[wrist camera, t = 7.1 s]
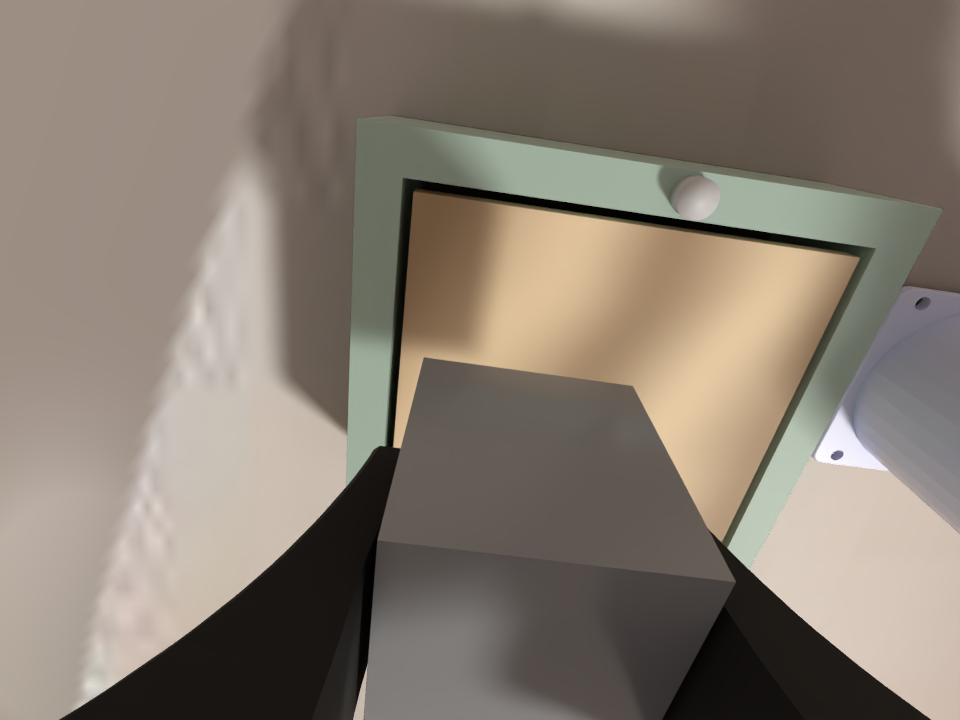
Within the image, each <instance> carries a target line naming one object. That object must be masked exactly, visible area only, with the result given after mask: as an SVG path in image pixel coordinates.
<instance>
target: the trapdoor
mask: <svg viewBox="0 0 960 720" xmlns="http://www.w3.org/2000/svg"><path fill="white" fill-rule="evenodd" d="M859 259H860V258H859V257H857V256H854V255H852V254H849V253H847V252H842V251H835V250H828V249H821V248H815V247H808V246H801V245H795V244H788V243H781V242H774V241H768V240H761V239H754V238H747V237H741V236H734V235H727V234H721V233H714V232H707V231H700V230H694V229H687V228H680V227H673V226H667V225H660V224H653V223H646V222H640V221H633V220H626V219H620V218H613V217H606V216H599V215H593V214H586V213H579V212H572V211H566V210H559V209H552V208H546V207H539V206H532V205H525V204H519V203H512V202H505V201H498V200H492V199H485V198H478V197H472V196H465V195H458V194H451V193H445V192H438V191H431V190H424V189H418V188H416V189H415V190H414V192H413V204H412V217H411V230H410V242H409V255H408V268H407V280H406V293H405V306H404V318H403V331H402V344H401V357H400V369H399V382H398V395H397V407H396V420H395V433H394V446H393V447H394V448H401V445H402V441H403V437H404V433H405V429H406V425H407V421H408V417H409V413H410V409H411V405H412V401H413V397H414V394H415V390H416V386H417V382H418V378H419V374H420V370H421V366H422V362H423V358H424V357H426V358H433V359H440V360H448V361H455V362H462V363H470V364H477V365H484V366H491V367H499V368H506V369H513V370H521V371H528V372H535V373H542V374H550V375H557V376H564V377H572V378H579V379H586V380H594V381H601V382H608V383H615V384H623V385H630V386H633V387H634V389H635V391H636V393H637V395H638V397H639V399H640V401H641V402H642V404H643V406H644V408H645V410H646V412H647V414H648V416H649V418H650V420H651V421H652V423H653V425H654V427H655V429H656V431H657V433H658V435H659V437H660V439H661V440H662V442H663V444H664V446H665V448H666V450H667V452H668V454H669V456H670V458H671V459H672V461H673V463H674V465H675V467H676V469H677V471H678V473H679V475H680V477H681V478H682V480H683V482H684V484H685V486H686V488H687V490H688V492H689V494H690V496H691V497H692V499H693V501H694V503H695V505H696V507H697V509H698V511H699V513H700V515H701V516H702V518H703V520H704V522H705V524H706V526H707V528H708V529H709V530H710V531H711V532H712V533H713V534H714V535H715V536H716V537H717V538H718V539H719V540H720V541H721V542H722V541H723V539H724V537H725V535H726V533H727V531H728V529H729V527H730V525H731V523H732V520H733V518H734V516H735V514H736V512H737V510H738V508H739V506H740V504H741V502H742V500H743V498H744V496H745V494H746V492H747V490H748V488H749V486H750V483H751V481H752V479H753V477H754V475H755V473H756V471H757V469H758V467H759V465H760V463H761V461H762V459H763V457H764V455H765V453H766V451H767V449H768V446H769V444H770V442H771V440H772V438H773V436H774V434H775V432H776V430H777V428H778V426H779V424H780V422H781V420H782V418H783V416H784V414H785V412H786V409H787V407H788V405H789V403H790V401H791V399H792V397H793V395H794V393H795V391H796V389H797V387H798V385H799V383H800V381H801V379H802V377H803V375H804V372H805V370H806V368H807V366H808V364H809V362H810V360H811V358H812V356H813V354H814V352H815V350H816V348H817V346H818V344H819V342H820V340H821V338H822V335H823V333H824V331H825V329H826V327H827V325H828V323H829V321H830V319H831V317H832V315H833V313H834V311H835V309H836V307H837V305H838V303H839V301H840V298H841V296H842V294H843V292H844V290H845V288H846V286H847V284H848V282H849V280H850V278H851V276H852V274H853V272H854V270H855V268H856V266H857V264H858V261H859Z"/></svg>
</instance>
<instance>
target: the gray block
mask: <svg viewBox="0 0 960 720" xmlns="http://www.w3.org/2000/svg"><path fill="white" fill-rule="evenodd" d="M735 583H736V581H735V579H734V577H733V575H732V573H731V572H730V570H729V568H728V566H727V564H726V562H725V560H724V558H723V556H722V554H721V553H720V551H719V549H718V547H717V545H716V543H715V541H714V539H713V537H712V535H711V534H710V532H709V530H708V528H707V526H706V524H705V522H704V520H703V518H702V516H701V515H700V513H699V511H698V509H697V507H696V505H695V503H694V501H693V499H692V497H691V496H690V494H689V492H688V490H687V488H686V486H685V484H684V482H683V480H682V478H681V477H680V475H679V473H678V471H677V469H676V467H675V465H674V463H673V461H672V459H671V458H670V456H669V454H668V452H667V450H666V448H665V446H664V444H663V442H662V440H661V439H660V437H659V435H658V433H657V431H656V429H655V427H654V425H653V423H652V421H651V420H650V418H649V416H648V414H647V412H646V410H645V408H644V406H643V404H642V402H641V401H640V399H639V397H638V395H637V393H636V391H635V389H634V387H633V386H630V385H623V384H615V383H608V382H601V381H594V380H586V379H579V378H572V377H564V376H557V375H550V374H542V373H535V372H528V371H521V370H513V369H506V368H499V367H491V366H484V365H477V364H470V363H462V362H455V361H448V360H440V359H433V358H426V357H424V358H423V362H422V366H421V370H420V374H419V378H418V382H417V386H416V390H415V394H414V397H413V401H412V405H411V409H410V413H409V417H408V421H407V425H406V429H405V433H404V437H403V441H402V445H401V449H400V453H399V457H398V461H397V465H396V469H395V473H394V477H393V480H392V484H391V488H390V492H389V496H388V500H387V504H386V508H385V512H384V516H383V520H382V524H381V528H380V532H379V536H378V540H377V551H376V564H375V577H374V590H373V603H372V616H371V629H370V642H369V655H368V668H367V681H366V694H365V707H364V720H662V719H663V717H664V715H665V713H666V711H667V709H668V707H669V706H670V704H671V702H672V700H673V698H674V696H675V694H676V693H677V691H678V689H679V687H680V685H681V683H682V681H683V680H684V678H685V676H686V674H687V672H688V670H689V668H690V667H691V665H692V663H693V661H694V659H695V657H696V655H697V654H698V652H699V650H700V648H701V646H702V644H703V642H704V641H705V639H706V637H707V635H708V633H709V631H710V629H711V628H712V626H713V624H714V622H715V620H716V618H717V616H718V615H719V613H720V611H721V609H722V607H723V605H724V603H725V602H726V600H727V598H728V596H729V594H730V592H731V590H732V589H733V587H734V585H735Z"/></svg>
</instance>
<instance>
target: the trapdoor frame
mask: <svg viewBox="0 0 960 720" xmlns="http://www.w3.org/2000/svg"><path fill="white" fill-rule="evenodd" d="M423 181H429V182H435V183H442V184H449V185H455V186H462V187H469V188H475V189H482V190H489V191H495V192H502V193H509V194H516V195H522V196H529V197H536V198H542V199H549V200H556V201H562V202H569V203H576V204H582V205H589V206H596V207H602V208H609V209H616V210H623V211H629V212H636V213H643V214H649V215H656V216H663V217H669V218H676V219H683V220H689V221H696V222H703V223H710V224H716V225H723V226H730V227H736V228H743V229H750V230H756V231H763V232H770V233H771V234H770V237H769V239H768V241H774V242H781V243H788V244H795V245H801V246H808V247H815V248H821V249H828V250H835V251H842V252H847V253H849V254H852V255H854V256H857V257H859V258H860V259H859V261H858V264H857V266H856V268H855V270H854V272H853V274H852V276H851V278H850V280H849V282H848V284H847V286H846V288H845V290H844V292H843V294H842V296H841V298H840V301H839V303H838V305H837V307H836V309H835V311H834V313H833V315H832V317H831V319H830V321H829V323H828V325H827V327H826V329H825V331H824V333H823V335H822V338H821V340H820V342H819V344H818V346H817V348H816V350H815V352H814V354H813V356H812V358H811V360H810V362H809V364H808V366H807V368H806V370H805V372H804V375H803V377H802V379H801V381H800V383H799V385H798V387H797V389H796V391H795V393H794V395H793V397H792V399H791V401H790V403H789V405H788V407H787V409H786V412H785V414H784V416H783V418H782V420H781V422H780V424H779V426H778V428H777V430H776V432H775V434H774V436H773V438H772V440H771V442H770V444H769V446H768V449H767V451H766V453H765V455H764V457H763V459H762V461H761V463H760V465H759V467H758V469H757V471H756V473H755V475H754V477H753V479H752V481H751V483H750V486H749V488H748V490H747V492H746V494H745V496H744V498H743V500H742V502H741V504H740V506H739V508H738V510H737V512H736V514H735V516H734V518H733V520H732V523H731V525H730V527H729V529H728V531H727V533H726V535H725V537H724V539H723V541H722V543H723V544H724V545H725V546H726V547H727V548H728V549H729V550H730V551H731V552H732V553H733V554H734V555H735V556H736V557H737V558H738V559H739V560H740V561H741V562H742V563H743V564H744V565H745V566H746V567H747V568H748V569H749V570H750V568H751V566H752V564H753V563H754V561H755V559H756V557H757V555H758V553H759V551H760V550H761V548H762V546H763V544H764V542H765V540H766V538H767V537H768V535H769V533H770V531H771V529H772V527H773V525H774V524H775V522H776V520H777V518H778V516H779V514H780V512H781V511H782V509H783V507H784V505H785V503H786V501H787V499H788V498H789V496H790V494H791V492H792V490H793V488H794V486H795V485H796V483H797V481H798V479H799V477H800V475H801V473H802V472H803V470H804V468H805V466H806V464H807V462H808V460H809V459H810V457H811V455H812V453H813V451H814V449H815V447H816V445H817V444H818V442H819V440H820V438H821V436H822V434H823V432H824V431H825V429H826V427H827V425H828V423H829V421H830V419H831V418H832V416H833V414H834V412H835V410H836V408H837V406H838V405H839V403H840V401H841V399H842V397H843V395H844V393H845V392H846V390H847V388H848V386H849V384H850V382H851V380H852V379H853V377H854V375H855V373H856V371H857V369H858V367H859V366H860V364H861V362H862V360H863V358H864V356H865V354H866V353H867V351H868V349H869V347H870V345H871V343H872V341H873V340H874V338H875V336H876V334H877V332H878V330H879V328H880V327H881V325H882V323H883V321H884V319H885V317H886V315H887V314H888V312H889V310H890V308H891V306H892V304H893V302H894V301H895V299H896V297H897V295H898V293H899V291H900V289H901V288H902V286H903V284H904V282H905V280H906V278H907V276H908V275H909V273H910V271H911V269H912V267H913V265H914V263H915V262H916V260H917V258H918V256H919V254H920V252H921V250H922V249H923V247H924V245H925V243H926V241H927V239H928V237H929V236H930V234H931V232H932V230H933V228H934V226H935V224H936V223H937V221H938V219H939V217H940V215H941V213H942V211H943V210H944V209H941V208H937V207H932V206H928V205H923V204H919V203H914V202H910V201H905V200H901V199H896V198H892V197H887V196H883V195H878V194H873V193H869V192H864V191H860V190H855V189H851V188H846V187H842V186H837V185H833V184H828V183H823V182H816V181H810V180H803V179H797V178H790V177H784V176H778V175H771V174H765V173H758V172H752V171H746V170H739V169H733V168H726V167H720V166H713V165H707V164H701V163H694V162H688V161H681V160H675V159H668V158H662V157H656V156H649V155H643V154H636V153H630V152H623V151H617V150H611V149H604V148H598V147H591V146H585V145H579V144H572V143H566V142H559V141H553V140H546V139H540V138H534V137H527V136H521V135H514V134H508V133H501V132H495V131H489V130H482V129H476V128H469V127H463V126H456V125H450V124H444V123H437V122H431V121H424V120H418V119H412V118H405V117H399V116H392V115H390V116H377V117H364V118H356V151H355V186H354V222H353V257H352V292H351V328H350V363H349V398H348V433H347V469H346V487H347V485H348V484H349V483H350V482H351V480H352V479H353V478H354V477H355V475H356V474H357V473H358V471H359V470H360V469H361V467H362V466H363V465H364V463H365V462H366V461H367V459H368V458H369V456H370V455H371V453H372V452H373V450H374V449H375V448H377V447H379V446H386V447H393V446H394V433H395V420H396V407H397V395H398V382H399V369H400V357H401V344H402V331H403V318H404V306H405V293H406V280H407V268H408V255H409V242H410V230H411V217H412V204H413V192H414V190H415V189H416V188H418V189H422V183H423Z"/></svg>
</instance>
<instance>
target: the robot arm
mask: <svg viewBox="0 0 960 720" xmlns="http://www.w3.org/2000/svg"><path fill="white" fill-rule="evenodd" d="M921 298H922V301H921V302H920V303H919V304H918V305H917V306H915V305H916V302H917V301H918V300H919V299H921ZM400 449H401V448H394V447H386V446H379V447H377V448H375V449H374V450H373V452H372V453H371V455H370V456H369V458H368V459H367V461H366V462H365V463H364V465H363V466H362V467H361V469H360V470H359V471H358V473H357V474H356V475H355V477H354V478H353V479H352V480H351V482H350V483H349V484H348V485H347V487H346V488H345V489H344V490H343V491H342V492H341V494H340V495H339V496H338V497H337V498H336V499H335V500H334V502H333V503H332V504H331V505H330V506H329V507H328V508H327V510H326V511H325V512H324V513H323V514H322V515H321V516H320V517H319V518H318V519H317V521H316V522H315V523H314V524H313V525H312V526H311V527H310V528H309V529H308V530H307V531H306V532H305V533H304V534H303V535H302V536H301V537H300V538H299V539H298V540H297V541H296V542H295V543H294V544H293V545H292V546H291V547H290V548H289V549H288V550H287V551H286V552H285V553H284V554H283V555H282V556H280V557H279V558H278V559H277V560H276V561H275V562H274V563H273V564H272V565H271V566H270V567H269V568H267V569H266V570H265V571H264V572H263V573H262V574H261V575H260V576H258V577H257V578H256V579H255V580H254V581H253V582H251V583H250V584H249V585H248V586H247V587H246V588H245V589H243V590H242V591H241V592H240V593H239V594H237V595H236V596H235V597H234V598H232V599H231V600H230V601H229V602H227V603H226V604H225V605H224V606H222V607H221V608H220V609H219V610H217V611H216V612H215V613H214V614H212V615H211V616H210V617H208V618H207V619H206V620H205V621H203V622H202V623H201V624H200V625H198V626H197V627H196V628H194V629H193V630H192V631H190V632H189V633H188V634H186V635H185V636H184V637H182V638H181V639H180V640H178V641H177V642H175V643H174V644H173V645H171V646H170V647H168V648H167V649H165V650H164V651H163V652H161V653H160V654H158V655H157V656H155V657H154V658H152V659H151V660H149V661H148V662H147V663H145V664H144V665H142V666H141V667H139V668H138V669H136V670H135V671H133V672H132V673H131V674H129V675H128V676H126V677H125V678H123V679H122V680H120V681H119V682H117V683H116V684H115V685H113V686H112V687H110V688H109V689H107V690H106V691H104V692H103V693H101V694H100V695H98V696H97V697H95V698H93V699H92V700H90V701H89V702H87V703H86V704H84V705H83V706H81V707H79V708H78V709H76V710H74V711H73V712H71V713H70V714H68V715H66V716H65V717H63V718H61V719H60V720H353V717H354V712H355V708H356V704H357V700H358V696H359V692H360V688H361V685H362V681H363V678H364V674H365V671H366V667H367V664H368V655H369V642H370V629H371V616H372V603H373V590H374V577H375V564H376V551H377V540H378V536H379V532H380V528H381V524H382V520H383V516H384V512H385V508H386V504H387V500H388V496H389V492H390V488H391V484H392V480H393V477H394V473H395V469H396V465H397V461H398V457H399V453H400ZM835 451H836V452H835ZM833 452H835V453H834V454H832V453H833ZM811 456H812V457H813V458H814V459H815V460H816V461H817V462H821V463H829V464H837V465H845V466H853V467H861V468H869V469H876V470H884V471H890V472H891V473H892V474H894V475H895V476H896V477H897V478H898V479H899V480H900V481H901V482H902V483H904V484H905V485H906V486H907V487H908V488H909V489H910V490H911V491H912V492H914V493H915V494H916V495H917V496H918V497H919V498H920V499H921V500H922V501H923V502H925V503H926V504H927V505H928V506H929V507H930V508H931V509H932V510H933V511H935V512H936V513H937V514H938V515H939V516H940V517H941V518H942V519H943V520H945V521H946V522H947V523H948V524H949V525H950V526H951V527H952V528H953V529H955V530H956V531H957V532H958V533H959V534H960V293H954V292H947V291H940V290H934V289H927V288H920V287H913V286H904V287H902V288H901V289H900V291H899V293H898V295H897V297H896V299H895V301H894V302H893V304H892V306H891V308H890V310H889V312H888V314H887V315H886V317H885V319H884V321H883V323H882V325H881V327H880V328H879V330H878V332H877V334H876V336H875V338H874V340H873V341H872V343H871V345H870V347H869V349H868V351H867V353H866V354H865V356H864V358H863V360H862V362H861V364H860V366H859V367H858V369H857V371H856V373H855V375H854V377H853V379H852V380H851V382H850V384H849V386H848V388H847V390H846V392H845V393H844V395H843V397H842V399H841V401H840V403H839V405H838V406H837V408H836V410H835V412H834V414H833V416H832V418H831V419H830V421H829V423H828V425H827V427H826V429H825V431H824V432H823V434H822V436H821V438H820V440H819V442H818V444H817V445H816V447H815V449H814V451H813V453H812V455H811ZM708 530H709V529H708ZM709 532H710V534H711V535H712V537H713V539H714V541H715V543H716V545H717V547H718V549H719V551H720V553H721V554H722V556H723V558H724V560H725V562H726V564H727V566H728V568H729V570H730V572H731V573H732V575H733V577H734V579H735V581H736V583H735V585H734V587H733V589H732V590H731V592H730V594H729V596H728V598H727V600H726V602H725V603H724V605H723V607H722V609H721V611H720V613H719V615H718V616H717V618H716V620H715V622H714V624H713V626H712V628H711V629H710V631H709V633H708V635H707V637H706V639H705V641H704V642H703V644H702V646H701V648H700V650H699V652H698V654H697V655H696V657H695V659H694V661H693V663H692V665H691V667H690V668H689V670H688V672H687V674H686V676H685V678H684V680H683V681H682V683H681V685H680V687H679V689H678V691H677V693H676V694H675V696H674V698H673V700H672V702H671V704H670V706H669V707H668V709H667V711H666V713H665V715H664V717H663V719H662V720H931V719H929V718H928V717H927V716H925V715H924V714H922V713H921V712H920V711H918V710H917V709H916V708H914V707H913V706H912V705H910V704H909V703H908V702H906V701H905V700H903V699H902V698H901V697H899V696H898V695H897V694H895V693H894V692H893V691H891V690H890V689H888V688H887V687H886V686H884V685H883V684H882V683H880V682H879V681H878V680H877V679H875V678H874V677H873V676H871V675H870V674H869V673H868V672H866V671H865V670H864V669H862V668H861V667H860V666H858V665H857V664H856V663H855V662H853V661H852V660H851V659H850V658H849V657H847V656H846V655H845V654H844V653H843V652H841V651H840V650H839V649H838V648H836V647H835V646H834V645H833V644H832V643H830V642H829V641H828V640H827V639H825V638H824V637H823V636H822V635H821V634H819V633H818V632H817V631H816V630H815V629H813V628H812V627H811V626H810V625H809V624H808V623H806V622H805V621H804V620H803V619H802V618H801V617H800V616H798V615H797V614H796V613H795V612H794V611H793V610H792V609H791V608H789V607H788V606H787V605H786V604H785V603H784V602H783V601H782V600H781V599H780V598H779V597H778V596H776V595H775V594H774V593H773V592H772V591H771V590H770V589H769V588H768V587H767V586H766V585H764V584H763V583H762V582H761V581H760V580H759V579H758V578H757V577H756V576H755V575H754V574H753V573H752V572H751V571H750V570H749V569H748V568H747V567H746V566H745V565H744V564H743V563H742V562H741V561H740V560H739V559H738V558H737V557H736V556H735V555H734V554H733V553H732V552H731V551H730V550H729V549H728V548H727V547H726V546H725V545H724V544H723V543H722V542H721V541H720V540H719V539H718V538H717V537H716V536H715V535H714V534H713V533H712V532H711V531H710V530H709Z"/></svg>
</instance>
